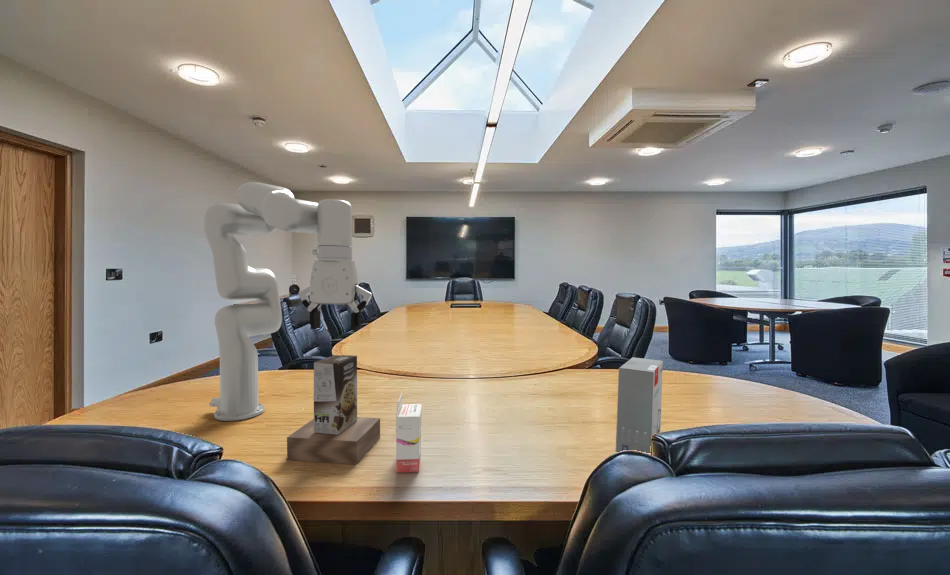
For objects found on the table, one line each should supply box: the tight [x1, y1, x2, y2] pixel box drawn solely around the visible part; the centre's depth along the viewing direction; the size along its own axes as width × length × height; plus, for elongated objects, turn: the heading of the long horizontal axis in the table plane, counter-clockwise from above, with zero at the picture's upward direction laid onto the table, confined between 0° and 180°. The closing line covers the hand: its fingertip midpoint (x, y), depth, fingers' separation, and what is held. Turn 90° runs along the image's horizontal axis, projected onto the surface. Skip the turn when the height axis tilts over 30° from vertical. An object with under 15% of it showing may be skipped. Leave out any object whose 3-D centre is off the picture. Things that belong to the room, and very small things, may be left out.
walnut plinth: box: [286, 416, 381, 465], centre depth 95 cm, size 16×14×5 cm
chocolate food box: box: [313, 354, 358, 435], centre depth 95 cm, size 9×6×16 cm
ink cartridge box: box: [395, 391, 423, 474], centre depth 88 cm, size 9×5×15 cm, turn 5°
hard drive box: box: [615, 356, 664, 453], centre depth 97 cm, size 16×8×20 cm, turn 148°
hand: (335, 328), depth 94 cm, fingers open, 9 cm apart
